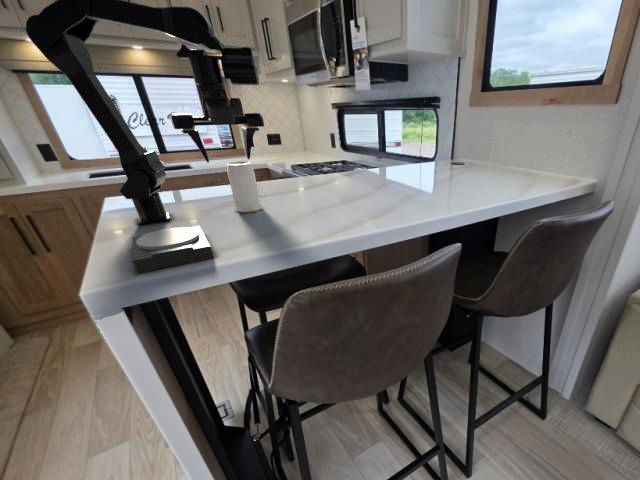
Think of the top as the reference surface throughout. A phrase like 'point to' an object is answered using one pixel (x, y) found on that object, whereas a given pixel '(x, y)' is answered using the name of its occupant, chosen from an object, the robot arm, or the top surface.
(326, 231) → the top surface
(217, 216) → the top surface
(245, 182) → the can
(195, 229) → the scale
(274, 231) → the top surface
